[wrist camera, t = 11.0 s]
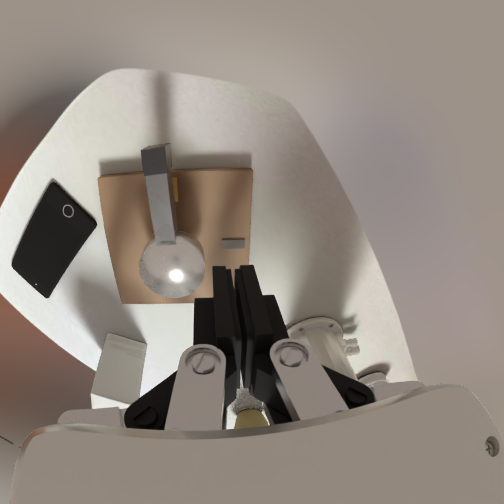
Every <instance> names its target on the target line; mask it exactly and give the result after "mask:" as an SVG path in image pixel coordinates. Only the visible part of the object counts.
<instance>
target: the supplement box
mask: <svg viewBox="0 0 504 504" xmlns="http://www.w3.org/2000/svg"><path fill="white" fill-rule="evenodd" d="M146 349H147V344H145V343H142V342H138V341H135V340H132V339H128V338H125V337H122V336H119V335H115V334H112V333H108V334H107V336H106V340H105V343H104V346H103V349H102V353H101V356H100V360H99V363H98V367H97V371H96V375H95V379H94V382H93V386H92V390H91V402H92V409H97V408H109V407H119V408H120V409H124V408H128V407H129V406H130V405H131V404H132V403H133V402H135V401H136V400H138V399H139V397H140V389H141V381H142V374H143V367H144V361H145V355H146Z"/></svg>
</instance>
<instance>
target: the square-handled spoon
mask: <svg viewBox="0 0 504 504" xmlns="http://www.w3.org/2000/svg"><path fill="white" fill-rule="evenodd" d="M141 156H142V165H143V173H144V176H145V178H146V186H147V193H148V199H149V206H150V212H151V218H152V224H153V230H154V235H153V236H151V237H150V239H149V240H148V241H147V243H146V246H145V248H144V251H143V253H142V256H141V258H140V261H139V273H140V276H141V279H142V281H143V282H144V284H145V285H146V286H147V287H148V288H149V289H150V290H151V291H153V292H154V293H156V294H158V295H161V296H164V297H169V298H179V297H184V296H187V295H189V294H191V293H193V292H194V291H196V290H197V289H198V288H199V286H200V285H201V283H202V281H203V279H204V274H205V254H204V250H203V247H202V245H201V243H200V242H199V240H198V239H197V238H196V237H195V236H194V235H192V234H191V233H189V232H187V231H185V230H182V229H178V222H177V215H176V207H175V199H174V190H173V181H172V172H171V167H172V160H171V149H170V143H167V144H159V145H152V146H148V147H146V148H144V149H142V150H141Z"/></svg>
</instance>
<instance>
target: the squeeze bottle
mask: <svg viewBox="0 0 504 504" xmlns="http://www.w3.org/2000/svg"><path fill="white" fill-rule="evenodd" d="M261 426H268V422H267V421H266V419H265V418H264V416H263V414H262V413H261V411H259V410H256V409H248V410H244V411H241V412H240V413H238V415H237V418H236V423H235V427H234V429H241V428H252V427H261Z"/></svg>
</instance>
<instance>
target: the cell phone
mask: <svg viewBox="0 0 504 504" xmlns="http://www.w3.org/2000/svg"><path fill="white" fill-rule="evenodd" d="M96 226H97V223H96V221H95V220H94V219H93V218H92V217H91V216H90V215H89V214H88V213H87V212H85V211H84V210H83V209H82V208H81V207H80V206H79V205H78V204H77V203H76V202H75V201H74V200H73V199H72V198H71V197H70V196H69V195H68V194H67V193H66V192H65V191H64V190H63V189H62V188H61V187H60V186H59V185H58V184H57V183H55V182H53V183H51V184H50V185H49V187H48V189H47V190H46V192H45V194H44V196H43V197H42V199H41V201H40V203H39V205H38V207H37V209H36V210H35V212H34V214H33V216H32V218H31V220H30V222H29V224H28V226H27V229H26V231H25V233H24V235H23V237H22V240H21V242H20V244H19V246H18V249H17V251H16V254H15V256H14V259H13V261H12V267H13V269H14V270H15V271H16V272H17V273H18V274H19V275H21V276H22V277H23V278H24V279H25V280H26V281H27V282H28V283H29V284H30V285H31V286H32V287H34V288H35V289H36V290H37V291H38V292H39V293H40V294H41V295H43V296H44V297H45V298H49V297H50V295H51V293H52V292H53V290H54V288H55V287H56V285H57V283H58V282H59V280H60V278H61V277H62V275H63V274H64V272H65V271H66V269H67V268H68V266H69V265H70V263H71V261H72V260H73V259H74V257H75V256H76V254H77V253H78V251H79V250H80V248H81V247H82V246H83V244H84V243H85V241H86V240H87V239H88V237H89V236H90V234H91V233H92V232H93V230H94V229H95V228H96Z"/></svg>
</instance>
